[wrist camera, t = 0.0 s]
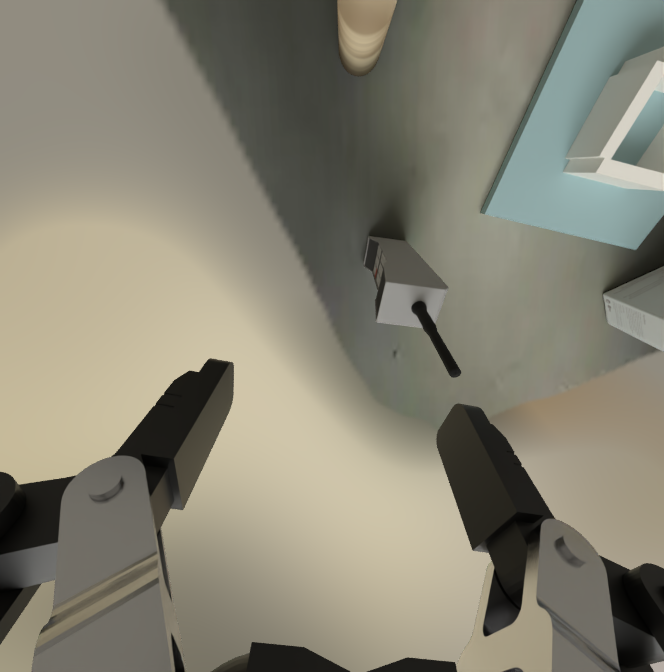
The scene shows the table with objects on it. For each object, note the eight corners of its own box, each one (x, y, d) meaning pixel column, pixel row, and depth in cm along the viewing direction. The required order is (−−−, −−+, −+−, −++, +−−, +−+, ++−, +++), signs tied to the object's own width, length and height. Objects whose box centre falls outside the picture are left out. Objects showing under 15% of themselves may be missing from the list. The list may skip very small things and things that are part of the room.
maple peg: (344, 11, 24) (344, -74, 16) (386, 23, 25) (409, -54, 16) (335, 70, 27) (331, 23, 18) (374, 81, 27) (388, 39, 18)
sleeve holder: (597, -44, 22) (667, -104, 18) (799, 22, 24) (916, -16, 19) (480, 212, 33) (504, 220, 28) (627, 247, 34) (673, 260, 29)
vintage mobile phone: (368, 235, 35) (409, 338, 13) (406, 240, 35) (507, 350, 13) (362, 263, 37) (391, 394, 15) (398, 268, 37) (477, 403, 15)
